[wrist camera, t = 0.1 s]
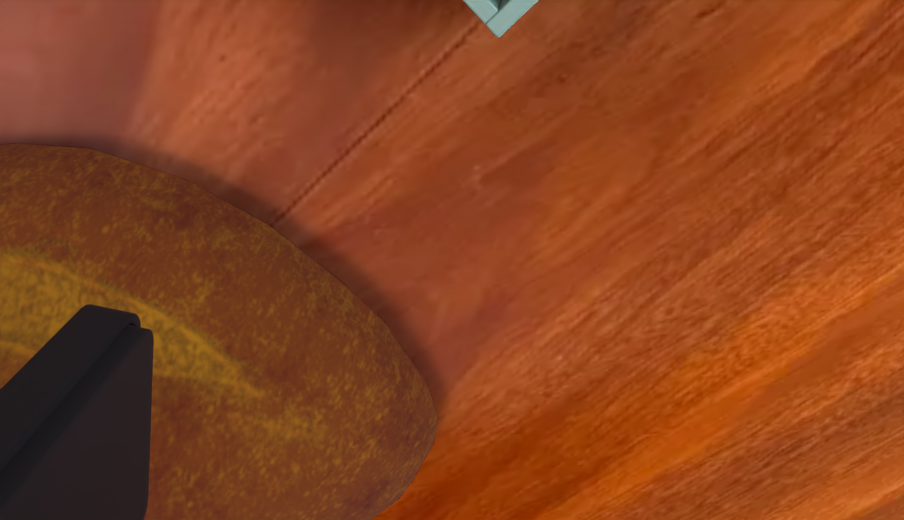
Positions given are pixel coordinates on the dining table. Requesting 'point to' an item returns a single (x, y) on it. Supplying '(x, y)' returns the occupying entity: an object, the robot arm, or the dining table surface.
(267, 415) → the bread
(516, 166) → the dining table surface
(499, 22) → the open square box
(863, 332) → the dining table surface
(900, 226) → the dining table surface
